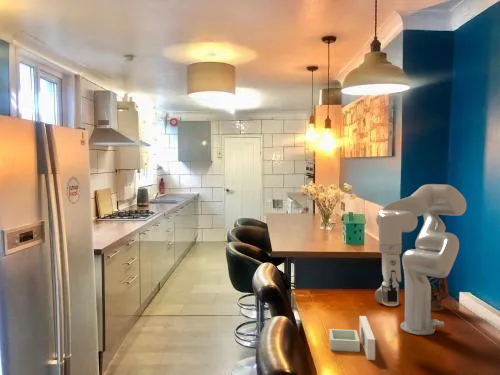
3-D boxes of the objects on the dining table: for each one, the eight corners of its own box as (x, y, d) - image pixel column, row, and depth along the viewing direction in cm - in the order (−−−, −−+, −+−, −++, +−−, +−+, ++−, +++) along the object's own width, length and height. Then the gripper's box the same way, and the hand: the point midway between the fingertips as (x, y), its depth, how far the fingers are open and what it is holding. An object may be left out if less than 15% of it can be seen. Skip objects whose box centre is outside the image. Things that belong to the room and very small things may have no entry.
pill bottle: (385, 300, 150) (385, 273, 150) (401, 303, 147) (401, 275, 146) (379, 304, 146) (379, 276, 145) (395, 307, 142) (395, 279, 142)
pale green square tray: (356, 339, 153) (356, 330, 153) (359, 351, 143) (359, 341, 143) (329, 338, 155) (329, 328, 154) (330, 350, 145) (330, 339, 145)
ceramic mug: (373, 303, 195) (373, 287, 194) (379, 298, 201) (379, 283, 201) (396, 307, 188) (396, 291, 188) (401, 303, 195) (401, 287, 194)
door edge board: (365, 333, 159) (365, 316, 158) (375, 360, 137) (375, 339, 136) (358, 333, 159) (358, 315, 159) (366, 359, 137) (366, 339, 137)
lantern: (407, 308, 187) (407, 242, 186) (409, 299, 199) (409, 238, 198) (448, 313, 180) (449, 245, 179) (448, 304, 192) (448, 240, 191)
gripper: (407, 253, 136) (407, 307, 137) (396, 243, 153) (396, 291, 154) (383, 253, 137) (384, 306, 138) (375, 243, 154) (375, 290, 155)
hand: (390, 297), depth 146 cm, fingers closed on pill bottle, 5 cm apart
